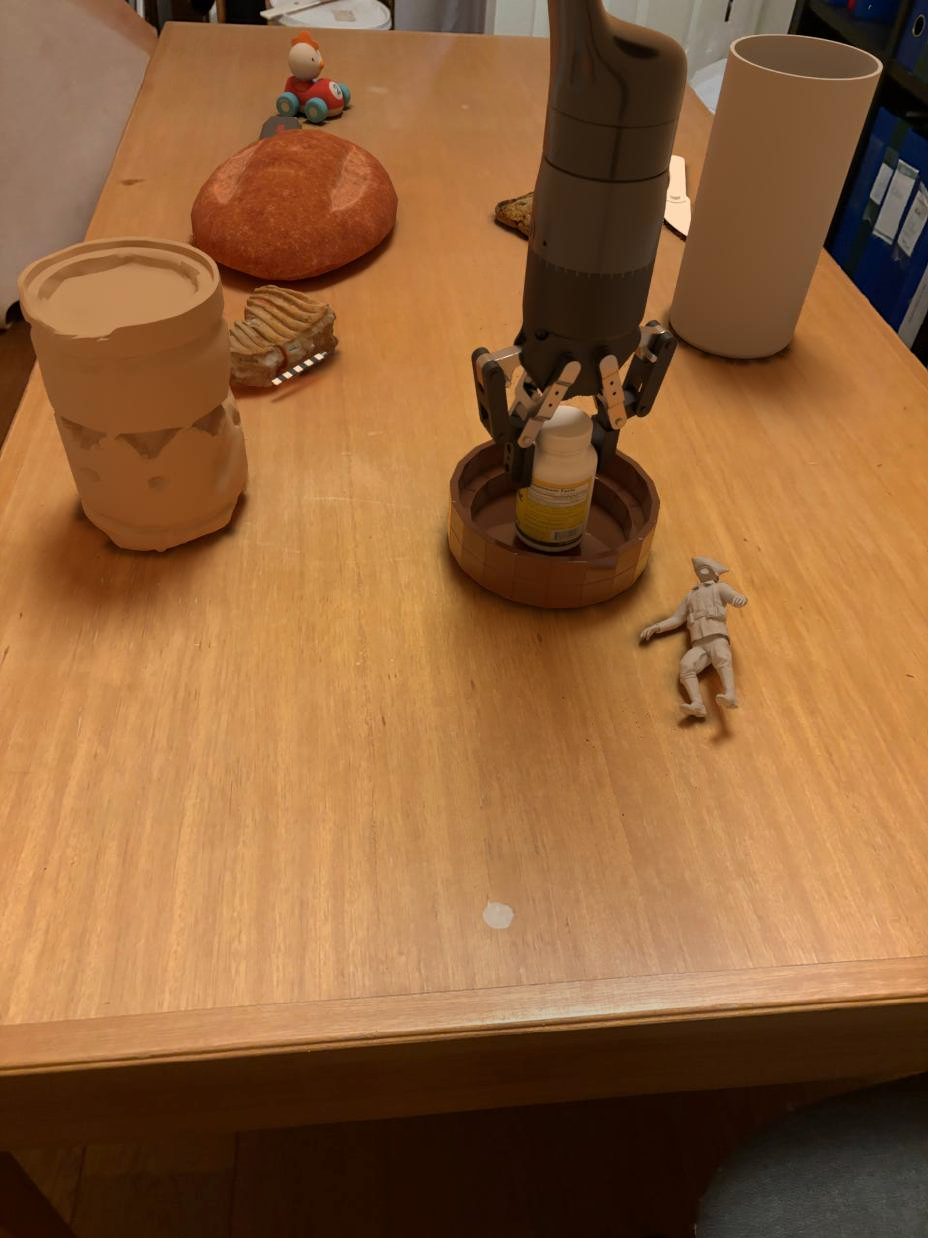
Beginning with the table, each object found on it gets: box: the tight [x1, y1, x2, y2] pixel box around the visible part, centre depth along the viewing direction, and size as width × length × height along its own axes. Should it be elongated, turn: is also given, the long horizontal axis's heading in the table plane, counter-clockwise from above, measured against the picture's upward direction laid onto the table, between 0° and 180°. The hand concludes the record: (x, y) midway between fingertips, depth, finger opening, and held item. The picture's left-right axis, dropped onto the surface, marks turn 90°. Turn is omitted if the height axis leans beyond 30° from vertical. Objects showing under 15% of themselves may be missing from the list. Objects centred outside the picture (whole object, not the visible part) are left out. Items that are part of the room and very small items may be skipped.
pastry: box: [494, 190, 534, 237], centre depth 111 cm, size 17×17×3 cm
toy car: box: [275, 30, 351, 124], centre depth 130 cm, size 9×9×10 cm
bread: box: [190, 128, 399, 281], centre depth 104 cm, size 23×32×9 cm
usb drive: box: [258, 115, 303, 140], centre depth 122 cm, size 5×12×3 cm, turn 3°
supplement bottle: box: [515, 404, 598, 552], centre depth 67 cm, size 5×5×10 cm
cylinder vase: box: [669, 33, 884, 360], centre depth 86 cm, size 12×12×25 cm
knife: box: [664, 154, 692, 237], centre depth 118 cm, size 26×4×1 cm, turn 171°
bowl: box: [447, 438, 661, 609], centre depth 69 cm, size 15×15×5 cm
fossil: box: [228, 284, 340, 388], centre depth 84 cm, size 12×6×9 cm
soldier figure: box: [639, 556, 749, 718], centre depth 63 cm, size 8×5×12 cm
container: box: [16, 235, 251, 553], centre depth 66 cm, size 13×13×18 cm
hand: (558, 472), depth 66 cm, fingers closed on supplement bottle, 5 cm apart
